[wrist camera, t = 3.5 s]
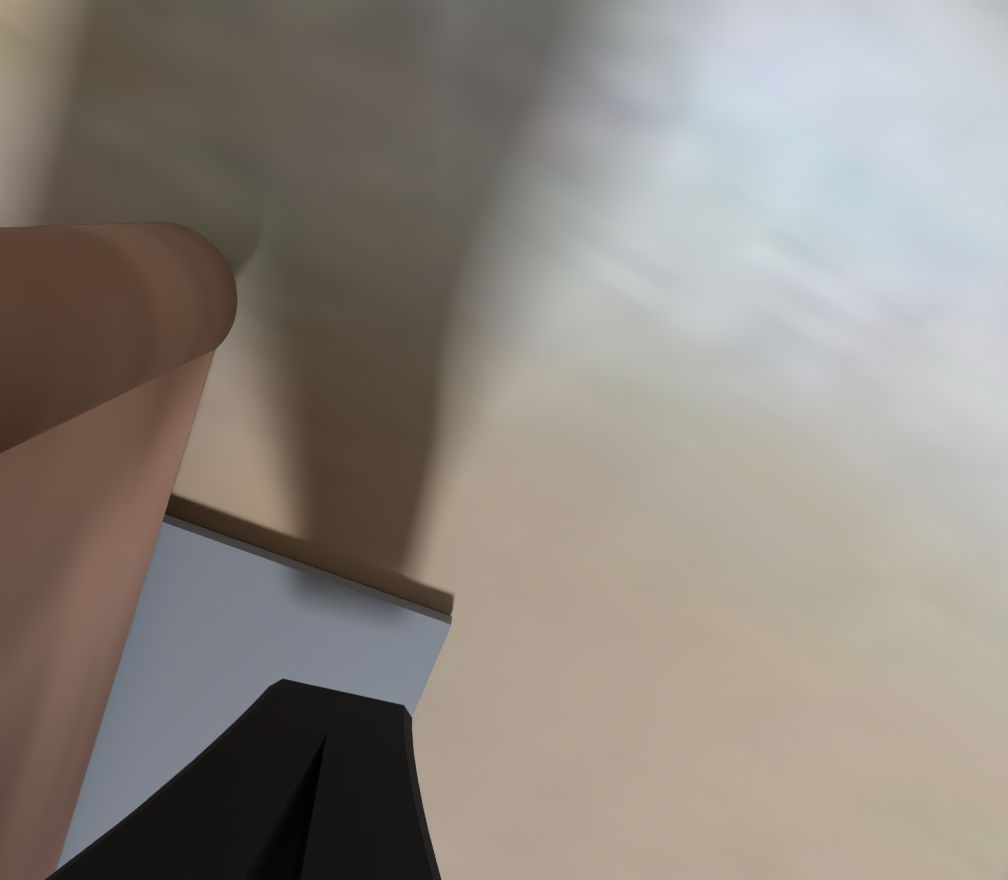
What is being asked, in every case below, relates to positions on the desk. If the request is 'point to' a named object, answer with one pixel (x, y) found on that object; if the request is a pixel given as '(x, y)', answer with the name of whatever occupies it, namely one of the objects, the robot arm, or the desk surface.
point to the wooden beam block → (85, 483)
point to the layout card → (236, 659)
